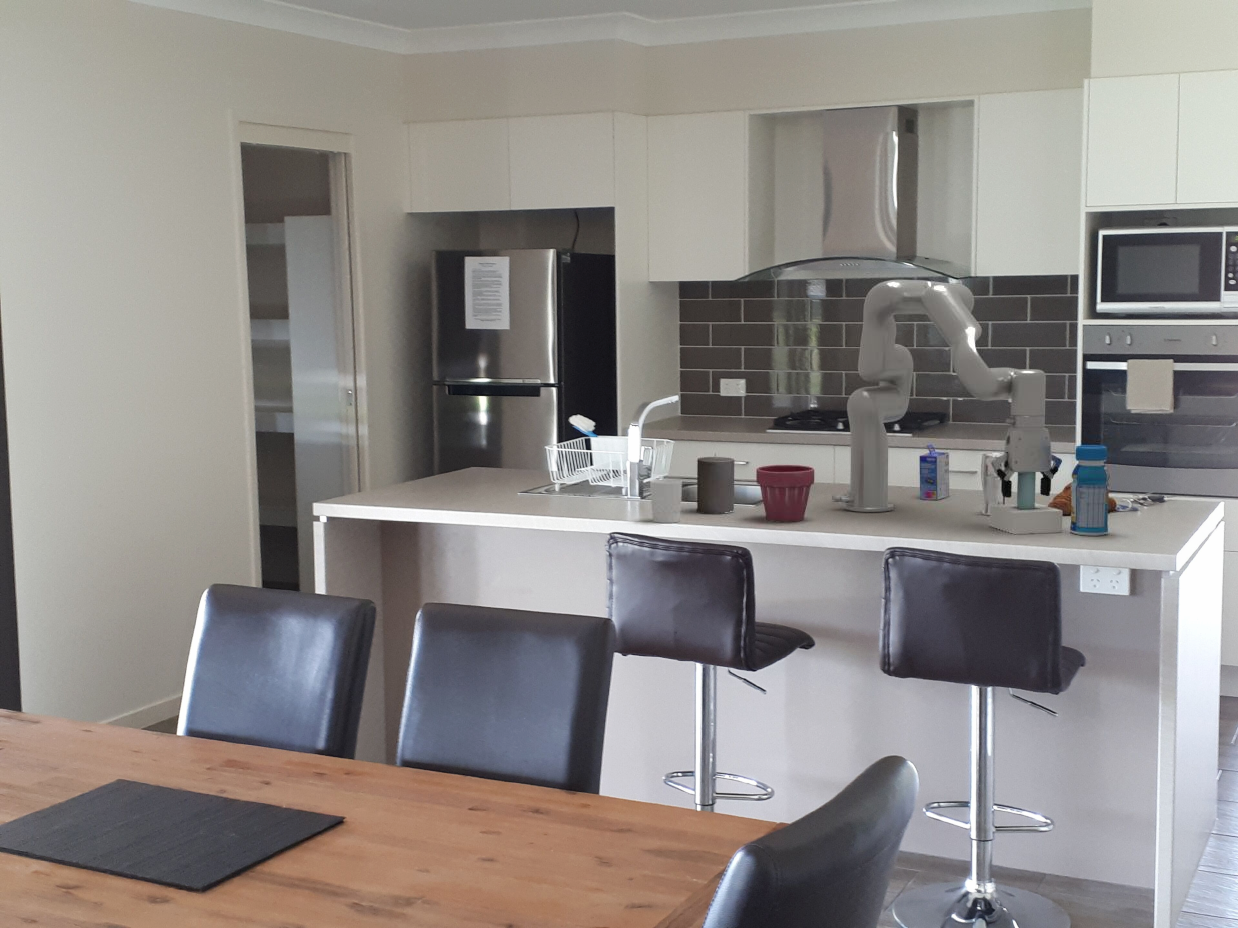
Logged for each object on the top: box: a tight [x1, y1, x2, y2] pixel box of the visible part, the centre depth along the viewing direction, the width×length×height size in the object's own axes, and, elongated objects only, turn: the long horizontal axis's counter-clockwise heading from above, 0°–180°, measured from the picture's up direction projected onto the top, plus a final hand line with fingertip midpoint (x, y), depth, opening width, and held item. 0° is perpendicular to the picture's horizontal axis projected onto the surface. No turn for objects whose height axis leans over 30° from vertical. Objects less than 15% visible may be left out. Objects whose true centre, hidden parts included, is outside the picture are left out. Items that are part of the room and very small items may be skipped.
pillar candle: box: [696, 453, 735, 515], centre depth 344 cm, size 10×10×15 cm
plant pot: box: [755, 464, 815, 522], centre depth 330 cm, size 14×14×13 cm
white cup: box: [649, 478, 683, 524], centre depth 329 cm, size 8×8×10 cm
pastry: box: [1047, 481, 1118, 516], centre depth 336 cm, size 17×15×8 cm
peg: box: [1016, 472, 1037, 510], centre depth 311 cm, size 4×4×14 cm
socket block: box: [988, 502, 1064, 535], centre depth 311 cm, size 12×12×5 cm
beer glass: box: [980, 452, 1007, 516], centre depth 334 cm, size 7×7×15 cm
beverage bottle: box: [1069, 444, 1111, 537], centre depth 304 cm, size 8×8×20 cm
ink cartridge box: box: [918, 444, 950, 501], centre depth 364 cm, size 10×6×14 cm, turn 148°
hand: (1025, 496), depth 311 cm, fingers open, 9 cm apart
